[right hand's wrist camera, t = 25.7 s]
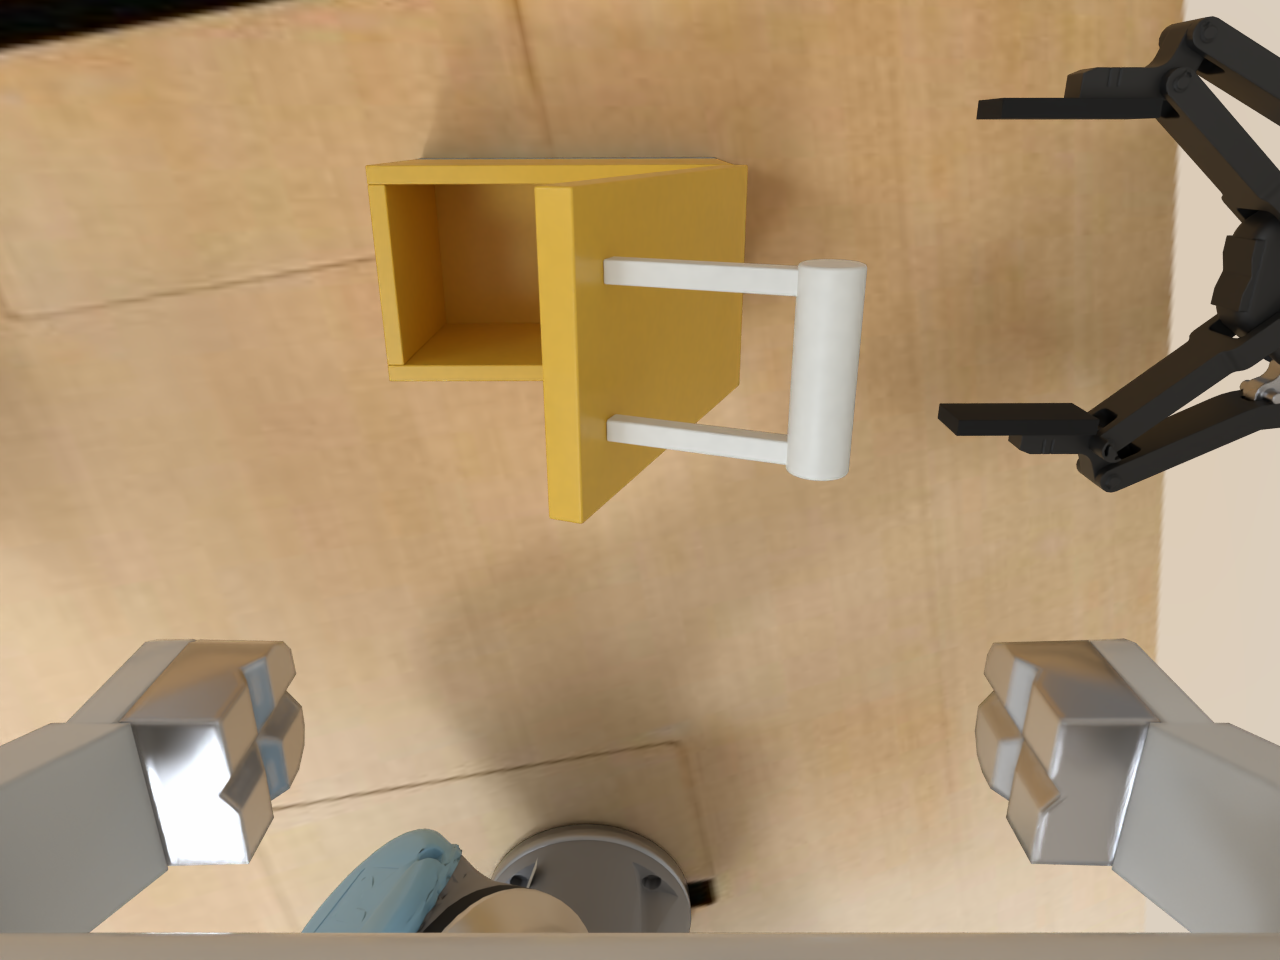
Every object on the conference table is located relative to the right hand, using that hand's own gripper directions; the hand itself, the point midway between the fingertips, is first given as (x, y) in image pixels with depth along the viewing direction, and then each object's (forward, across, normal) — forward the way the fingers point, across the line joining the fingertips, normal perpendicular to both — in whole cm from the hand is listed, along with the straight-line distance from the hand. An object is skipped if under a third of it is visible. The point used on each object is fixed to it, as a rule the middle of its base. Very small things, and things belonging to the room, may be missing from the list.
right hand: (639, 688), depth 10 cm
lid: (+23, 0, 0) cm, 23 cm away
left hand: (+31, +15, 0) cm, 34 cm away
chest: (+41, -4, 0) cm, 41 cm away
